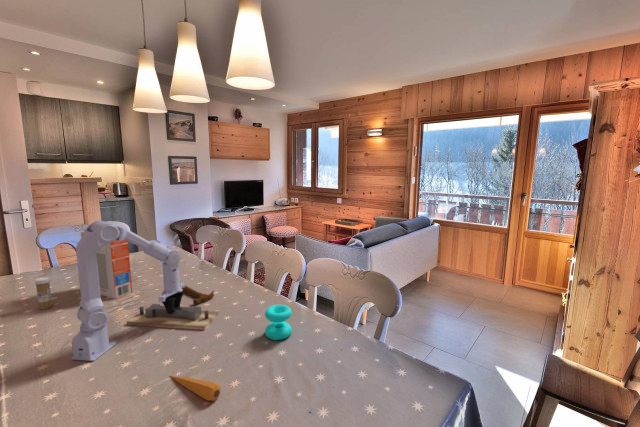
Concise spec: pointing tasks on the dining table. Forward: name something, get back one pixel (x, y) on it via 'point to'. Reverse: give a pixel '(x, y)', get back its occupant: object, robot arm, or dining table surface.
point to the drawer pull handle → (179, 312)
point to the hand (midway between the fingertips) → (173, 310)
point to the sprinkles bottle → (43, 292)
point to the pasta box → (114, 269)
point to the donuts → (278, 322)
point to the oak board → (173, 321)
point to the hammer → (198, 295)
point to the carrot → (200, 387)
